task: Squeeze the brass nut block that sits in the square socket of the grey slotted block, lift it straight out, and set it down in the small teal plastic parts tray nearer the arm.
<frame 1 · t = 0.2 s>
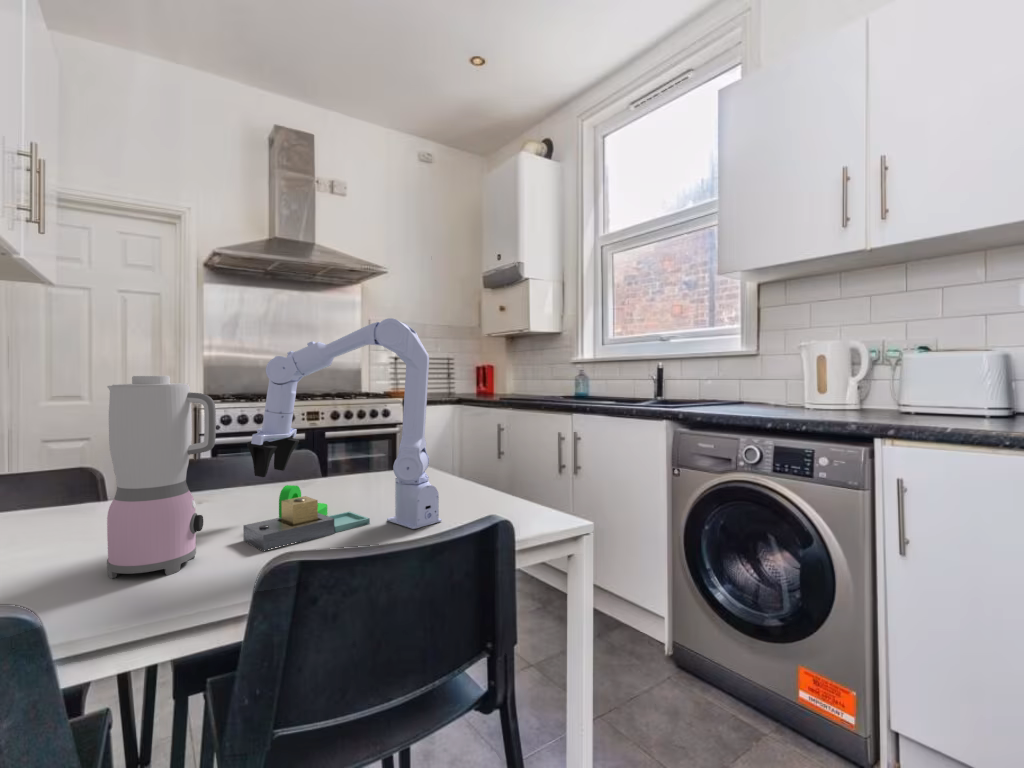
hand: (270, 472, 113), 10 cm above the table, tool pointing down, fingers open, 7 cm apart
grey slotted block: (290, 537, 102), on the table
mechanical part: (306, 519, 114), on the table, touching grey slotted block
nut block: (299, 535, 104), resting in grey slotted block
blender: (164, 566, 87), on the table
parts tray: (342, 524, 111), on the table
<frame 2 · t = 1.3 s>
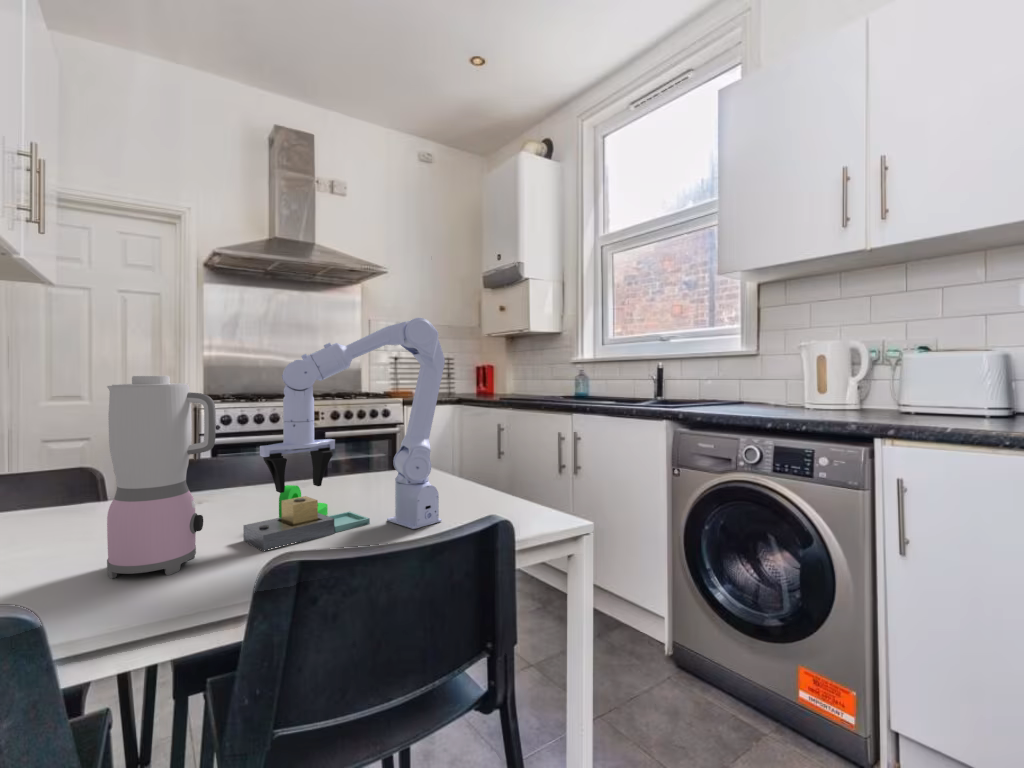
hand: (299, 488, 103), 9 cm above the table, tool pointing down, fingers open, 7 cm apart
nothing on the table moved.
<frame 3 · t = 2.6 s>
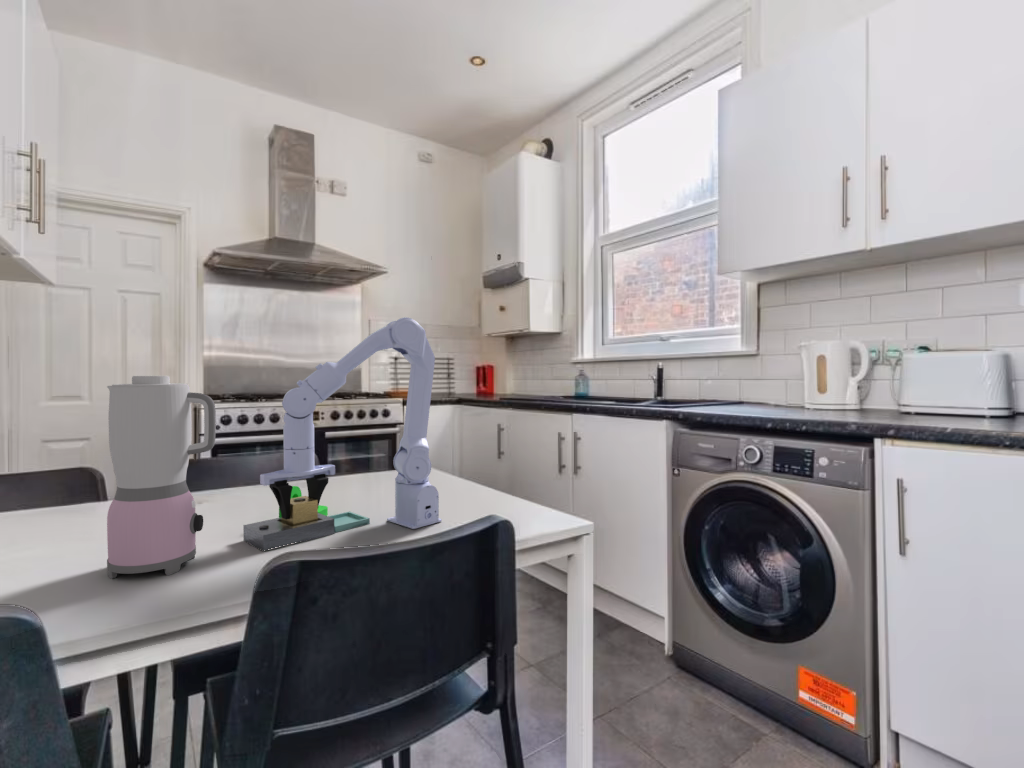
hand: (299, 515, 103), 4 cm above the table, tool pointing down, fingers closed on nut block, 5 cm apart
mechanical part: (306, 521, 114), on the table, touching grey slotted block
nut block: (299, 534, 104), resting in grey slotted block, touching gripper
everything else where it was.
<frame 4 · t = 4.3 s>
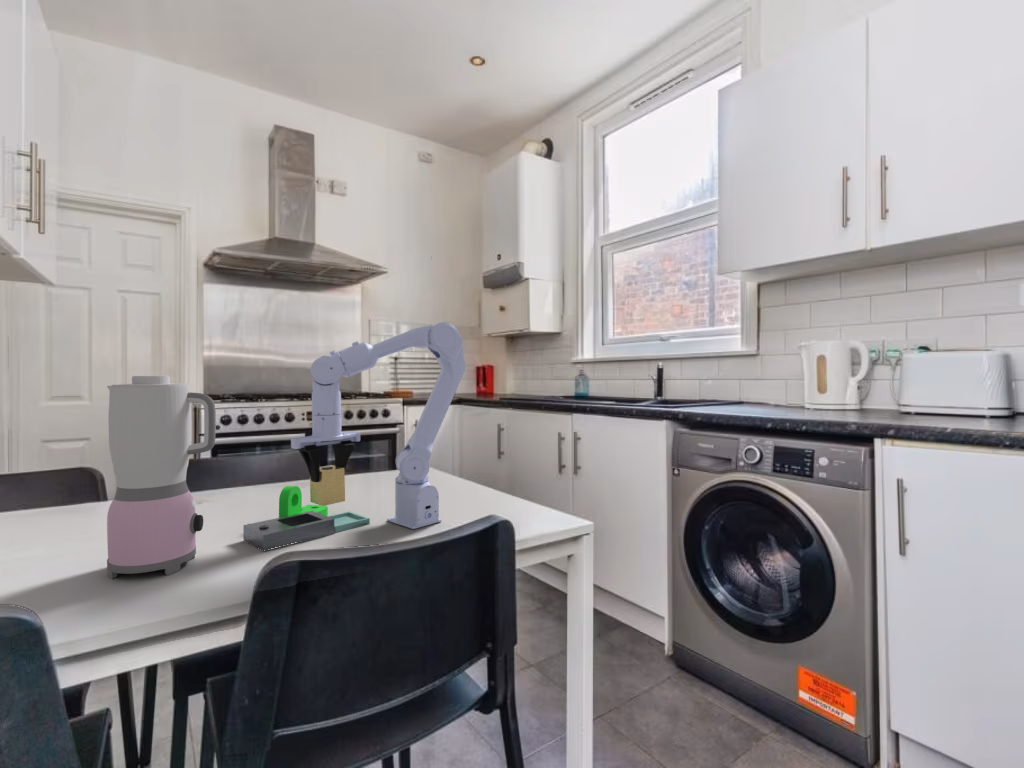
hand: (327, 479, 108), 10 cm above the table, tool pointing down, fingers closed on nut block, 5 cm apart
nut block: (327, 501, 108), point 6 cm above the table, touching gripper
everything else where it was.
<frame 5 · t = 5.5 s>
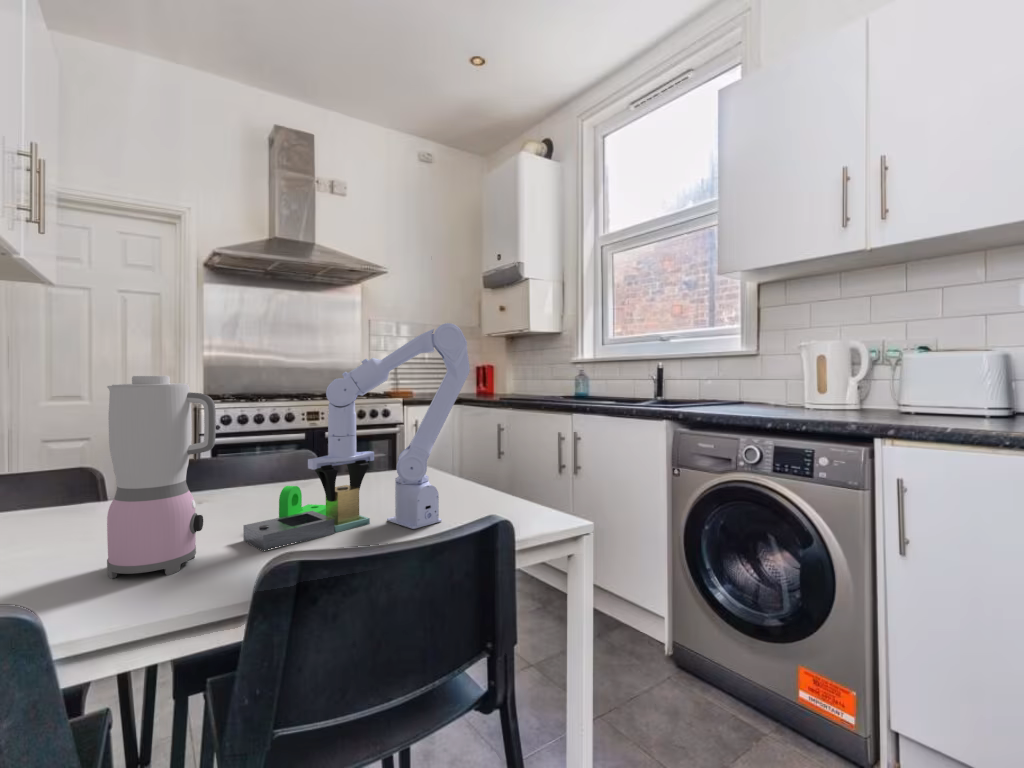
hand: (342, 498, 110), 6 cm above the table, tool pointing down, fingers closed on nut block, 5 cm apart
nut block: (342, 520, 111), point 1 cm above the table, touching gripper
everything else where it was.
when the fingers open (6 cm above the table, at t = 6.3 s): nut block stays where it is, resting on parts tray.
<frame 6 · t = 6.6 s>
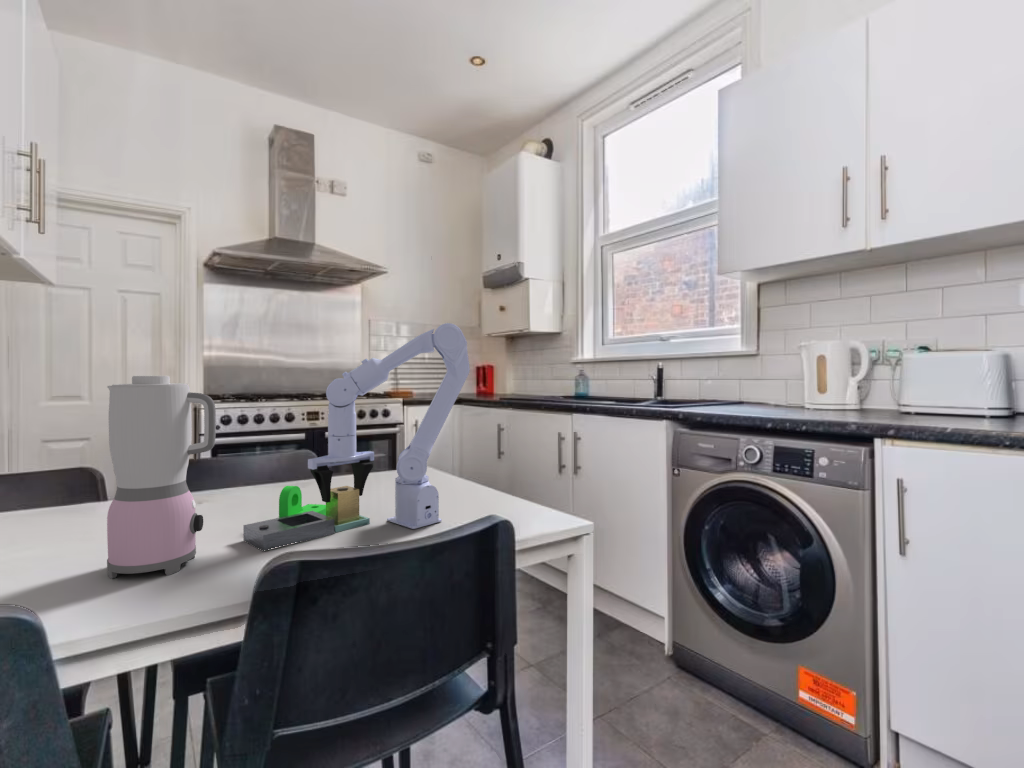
hand: (342, 498, 110), 6 cm above the table, tool pointing down, fingers open, 7 cm apart
nut block: (342, 521, 111), resting on parts tray
everything else where it was.
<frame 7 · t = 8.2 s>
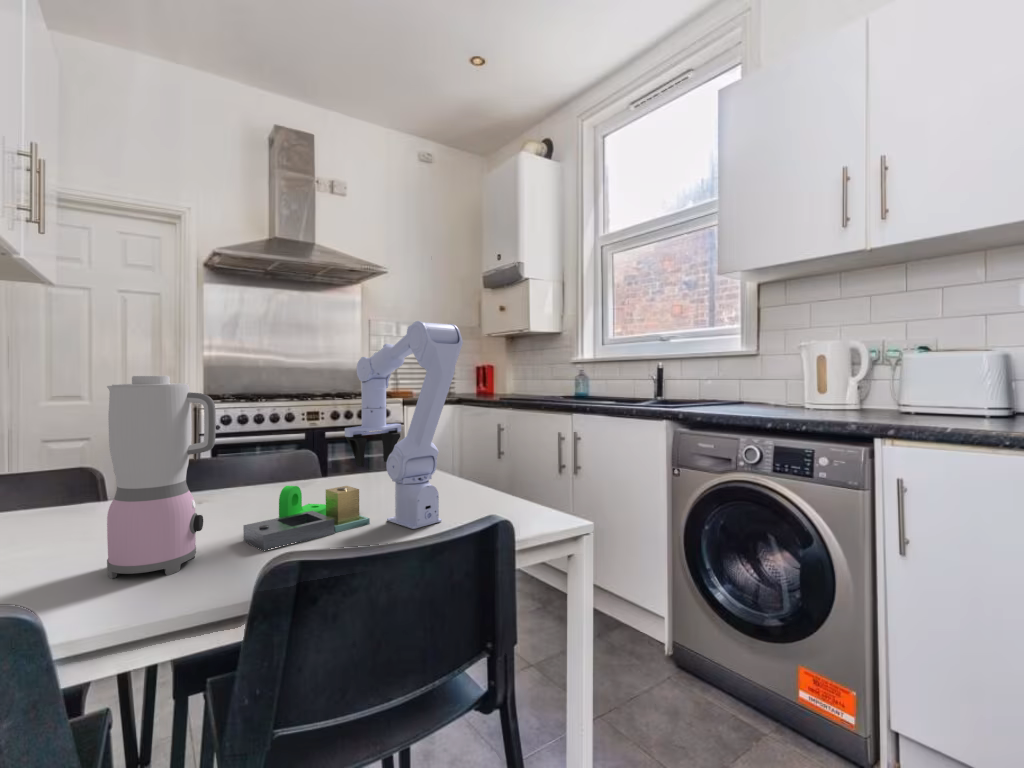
hand: (374, 464, 124), 10 cm above the table, tool pointing down, fingers open, 7 cm apart
nothing on the table moved.
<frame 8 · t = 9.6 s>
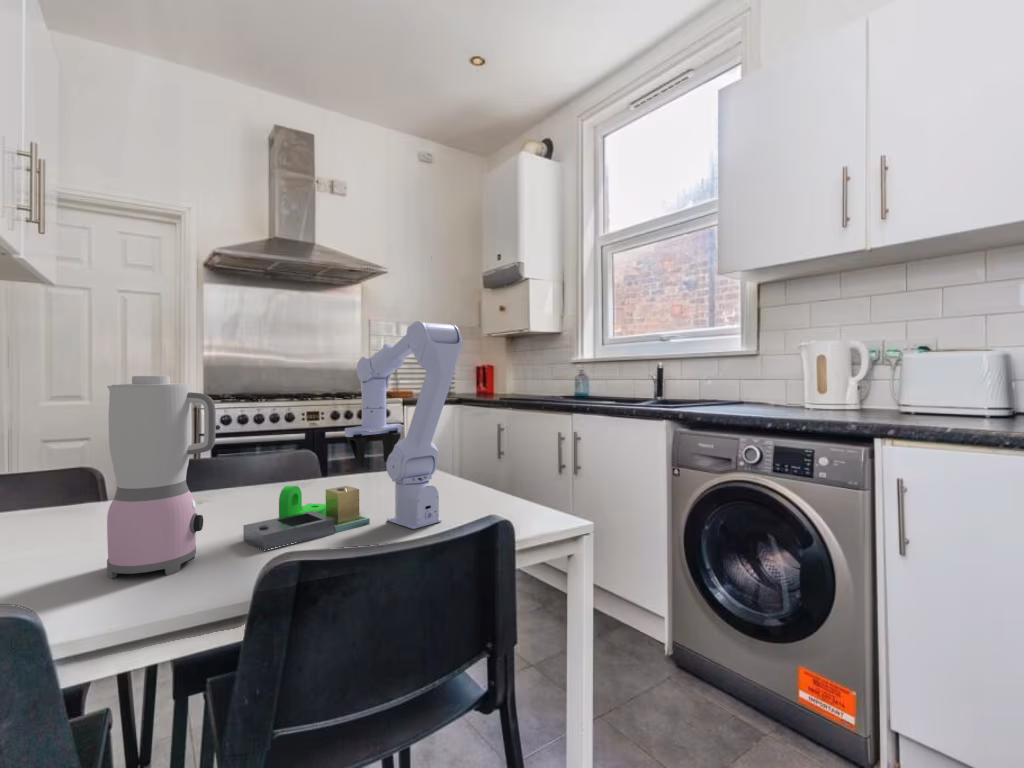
hand: (374, 464, 124), 10 cm above the table, tool pointing down, fingers open, 7 cm apart
nothing on the table moved.
at the end: nut block 0.1 cm off-centre on the parts tray, point 0.5 cm above the parts tray's base; nut block tilted 0°; the gripper is holding nothing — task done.
